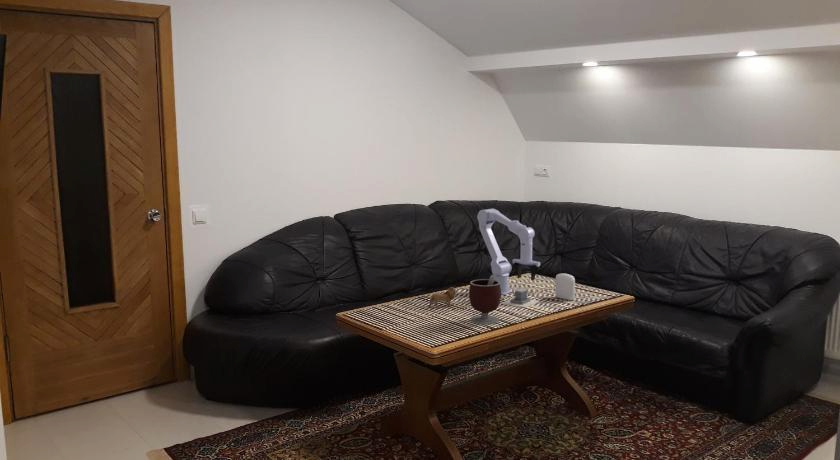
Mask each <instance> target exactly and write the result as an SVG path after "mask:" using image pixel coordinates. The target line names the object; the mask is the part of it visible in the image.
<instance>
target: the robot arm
mask: <svg viewBox="0 0 840 460" xmlns="http://www.w3.org/2000/svg"><path fill="white" fill-rule="evenodd" d="M476 219H477V221H478V228H479V231H480V233H481V236H482V238H483V241H484V243H485V246H486V248H487V251H488V252H489V255H490V257H491V262H490V266H491V272H492V274H491V275H490V277H489V279H490V278H491V277H492V276H493V275H494V274H495V273H497V275H496V277H495V279H494V280H496V281H499V282H500V287H501V295H503V296H504V295H507V294H511V292H512V293H513V291H512V290H509V288H510V287H509V284H510V283H509V279H510V278H509V277H510V276H509V275H510V274H511V272H512V265H511V263H510V262H509V261H508V258H507V257H505V256H503V254H502V251H501V249H500V247H499V245H498V243H497V239H496V238H495V235H494V232H493V230H492V226H493V224H494V223H495V222H499V223H501V225H502V224H503V225H504V226H506V227H508V230H509V231H510V232H512V233H513V234H515V235H516V236H518V238H519V241H520V242H519V243H520V257H519V258H517V259H516V258H513V259H512V264H513V268H514V270H515V273H516V276H517V277H516V278H517V279H521V278H522V268H523V265H525V266H529V270H530V280H531V281H535V278H536V274H537V272H538V270H539V268H540V266H541V262H540V261H535V260H533V238H534V237H535V235H536V233H535V230H534V229H533V227H531V226H528V227H527V225H525V224H522V223H521V222H520V221H519V220H511V219H510V218H508V217H507V216H506V215H504V214H503V213H501V212H500V211H499V210H498V209H495V208H488V209H481V210H479V212H478V213H477V216H476Z"/></svg>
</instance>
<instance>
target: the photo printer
mask: <svg viewBox="0 0 840 460" xmlns="http://www.w3.org/2000/svg"><path fill="white" fill-rule="evenodd" d="M555 298H559V299H563V300H568V301H574V300H575V299H576V279H575V276H573V275H572V274H568V273H558V274H556V276H555Z"/></svg>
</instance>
